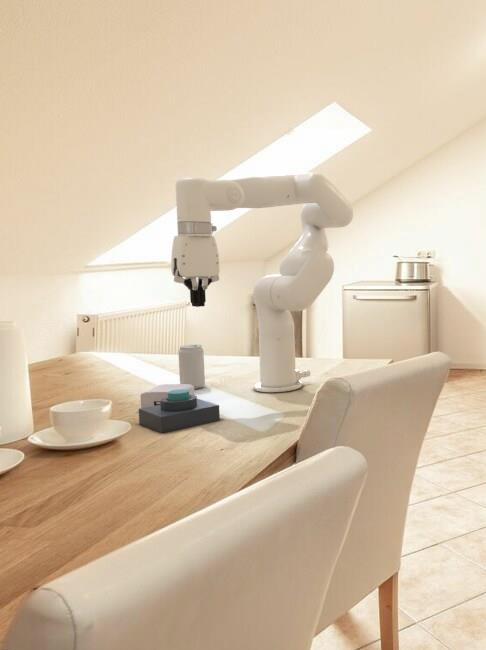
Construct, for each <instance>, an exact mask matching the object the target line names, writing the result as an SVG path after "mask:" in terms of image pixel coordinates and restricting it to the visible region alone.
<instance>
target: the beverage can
mask: <svg viewBox="0 0 486 650" xmlns="http://www.w3.org/2000/svg"><path fill="white" fill-rule="evenodd" d="M177 354H178V370H179V371H178V372H179V384H190V385H193V386H194V390H199V389H203V387H204V386H205V385H206V376H205V357H204V348H203V345H202V344H184V345H180V346H179V349H178V353H177Z"/></svg>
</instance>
